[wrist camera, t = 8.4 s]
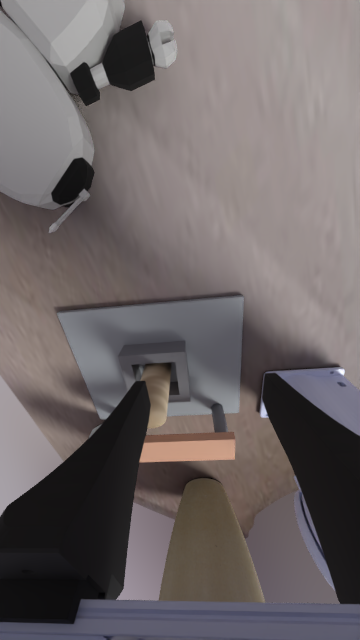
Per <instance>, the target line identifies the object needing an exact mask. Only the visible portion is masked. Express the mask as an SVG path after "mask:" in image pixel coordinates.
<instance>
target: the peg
mask: <svg viewBox="0 0 360 640" xmlns="http://www.w3.org/2000/svg"><path fill="white" fill-rule="evenodd" d="M171 367H172V365H171V362H165V363H150V364H145V367H144V370H143V374H142V377H141V380H140V381H145V382H146V386H147V390H148V394H149V399H150V403H151V407H150V416H149V423H148V427H147V428H157V427H160V426H161V425H163V424H164V423H165V421H166V418H167V408H168V398H169V387H170V377H171Z"/></svg>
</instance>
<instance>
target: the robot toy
mask: <svg viewBox="0 0 360 640" xmlns="http://www.w3.org/2000/svg"><path fill="white" fill-rule="evenodd" d="M0 6H1V7H2V8H3V9H4V10H5V11H6V13H7V14H8V16H9V17H10V18H11V20H10V19H9V18H8V17H7V16H6V15H5V14H4V13H3V12H2V11H1V10H0V192H2V193H4V194H6V195H7V196H9V197H11V198H13V199H15V200H17V201H20V202H22V203H25V204H29V205H33V206H37V207H40V208H46V209H51V210H54V209H56V208H59V207H61V206H65V207H68V208H69V209H68V210H67V211H66V212H65V213H64V214H63V215H62V216H61V217H60V218H59V219H58V220H57V221H56V222H55V223H53V224H52V225H51V226H50V227H49V233H52V232H55V231H56V230H57V229H58V228H59V225H60V224H61V223H62V222H63V221H64V220H65V219H66V218H67V217H68V216H69V215H70V214H71V213H72V212H73V210H74V209H75V208H76V207H77V206H78V205H79V204H80V203H81V202H82V201H84V202H85V201H86V200H87V199H88V198H89V197H90V195H89V193H88V192H87V191H88V190H89V188H90V187H91V183H92V179H93V176H94V170H93V168H92V162H93V156H94V151H95V149H94V145H93V141H92V137H91V133H90V130H89V128H88V126H87V123H86V121H85V119H84V118H83V116H82V114H81V112H80V110H79V108H78V107H77V105H76V103H75V102H74V100H73V99H72V97H71V96H70V94H69V93H68V91H67V90H66V88H67V89H68V90H69V92H70V93H73V94H78V95H79V96H80V97H81V99H82V101H83V103H84V104H85V105H86V106H87V105H89V104H91V103H94V102H96V101H98V100H100V92H99V89H101V88H103V87H105V86H107V85H109V84H111V85H114V86H116V87H119V88H123V89H126V90H129V91H132V90H134V89H136V88H138V87H141V86H143V85H145V84H147V83H149V82H151V81H153V80H155V73H154V67H153V66H156V67H160V68H164V69H166V68H168V67H169V66H170V65H171V64H172V63H173V62H174V61H175V60H176V55H177V45H176V41H175V40H174V36H173V35H174V32H173V28H172V25H171V24H170V23H169V22H168V21H167V20H162V21H156V22H155V23H154V25H153V27H152V28H151V30H150V32H149V33H148V35H147V37H146V33H145V30H144V27H143V24H142V21H139V22H137V23H135V24H133V25H131V26H129V27H128V28H126V29H124V30H122V31H120V32H119V30H120V26H121V22H122V17H123V13H124V9H125V4H124V0H0ZM62 83H63V84H62ZM64 86H65V87H66V88H65V87H64Z"/></svg>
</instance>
